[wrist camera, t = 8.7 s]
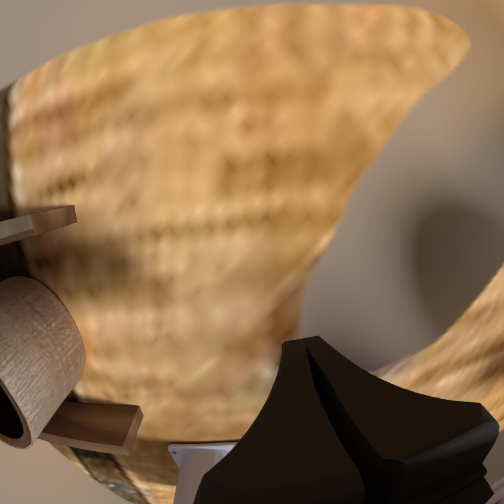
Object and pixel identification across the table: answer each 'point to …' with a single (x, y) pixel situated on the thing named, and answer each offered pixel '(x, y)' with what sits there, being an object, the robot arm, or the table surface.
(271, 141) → the table surface
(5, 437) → the planter
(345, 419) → the robot arm
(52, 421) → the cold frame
